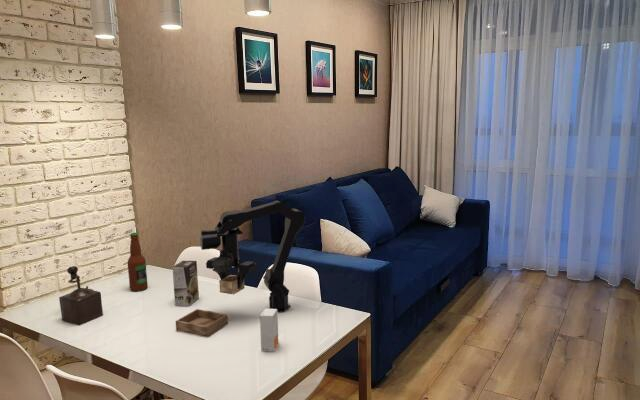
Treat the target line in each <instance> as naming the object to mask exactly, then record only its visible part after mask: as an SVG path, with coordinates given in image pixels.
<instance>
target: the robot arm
mask: <svg viewBox="0 0 640 400" xmlns="http://www.w3.org/2000/svg"><path fill="white" fill-rule="evenodd" d="M273 214H280V215H281V216H283V217H285V219H284V233H283V235H282V238H281V241H280V243H279V247H278V249H277V253H276V255H275V259H274V262H273V264H272V266H271V267H270V268H269V267H268V268H266V270H265V274H264V276H263V277H262V278H263V282H264V283H263V284H264V286H265V287H266V288H267V289H268V290H269V291H270V293H269V296H268V298H269V299H268V303H269V304H268V305H269V307H268V309H277V313H284V312H285V311H286V310H288V309H289V308H290V307H291V304H289V293H290V290H289V289H288V288H287V286H286V285H285V284H284V282H285V268H286V265H287V263H288V259H289V256H290V253H291V250H292V247H293V244H294V243H295V242H294V241H295V239H296V236H297V234H299V232H300V231H301V230H302V228H303V226H304V224H305V222H306V215H305V213H303V212H302V211H301V210H299V209H297V208H289V207H288V206H287V205H285V204H283V203H282V202H281V201H279V200H273V201H271V202H267V203H265V204H261V205H258V206H254V207H250V208H247V209H243V210H228V211H224V212H222V213H221V215H220V217H219V221H218V223H217V224H216V226H215V227H214V229H209V230H208V229H207V230H205V229H202V230H200V239H199V243H200V248H201V250H202V251H204V250H212V249H214V250H215V249H218V248H219V247H221V249H220V251H219V255H218V256H217V257H212V258H210V259H207V260H206V263H205V268H206V269H211V270H212V271H213V272H215V273H216V274H217V275H218V276H219V278H220V280H221V279H223V278H225V277H227V276H228V270H231V269H238V271H236V272H235V273H234V275H235V276H237V281H238V289H240V288H241V286H242V284H243V281H244V282H245V279H246V276H247V275H248V274H251V273H253V272H254V271H257V268H258V265H257V263H256V262H255V261H249V260H248V261H245V262H243V263H240V262H242V258H240V256H239V252H241V247H239V237H238V235H243V234H244V231H242V229H240V228H239V227H240V226H242V225H244V224H245V223H247V222H249V221H253V220H257V219H259V218H262V217H267V216H270V215H273Z"/></svg>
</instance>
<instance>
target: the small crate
mask: <svg viewBox="0 0 640 400" xmlns="http://www.w3.org/2000/svg"><path fill="white" fill-rule="evenodd" d="M218 282H219V293H222V294H227V295H228V294H229V295H233V296H234V295H236V294H237V293H240V292H241V291H242V290H244V289H246V288H245V280H244V281H243V284H242V286H241V288H240V289H238V281H237V275H236V274H234V275H232V274H229V275H227V277H225V278H223V279H220V280H219V281H218Z"/></svg>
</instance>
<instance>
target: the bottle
mask: <svg viewBox="0 0 640 400" xmlns="http://www.w3.org/2000/svg"><path fill="white" fill-rule="evenodd" d="M129 236H130V237H129V238H130V245H129V246H130V247H129V250H130V251H129V252H130V253H129V254H130V255H129V258H128V260H127V271H128V282H129V283H128V284H129V290H130V291H132V292H137V293H138V292H143V291H145V290H147V288H148V286H149V285H148V276H147V274H148V273H147V264H146V263H147V262H146V259H145V257H144V255H143V254H142V248H141V245H140V244H141V243H140V240H139V233H138V232H131V233H130V234H129Z"/></svg>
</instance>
